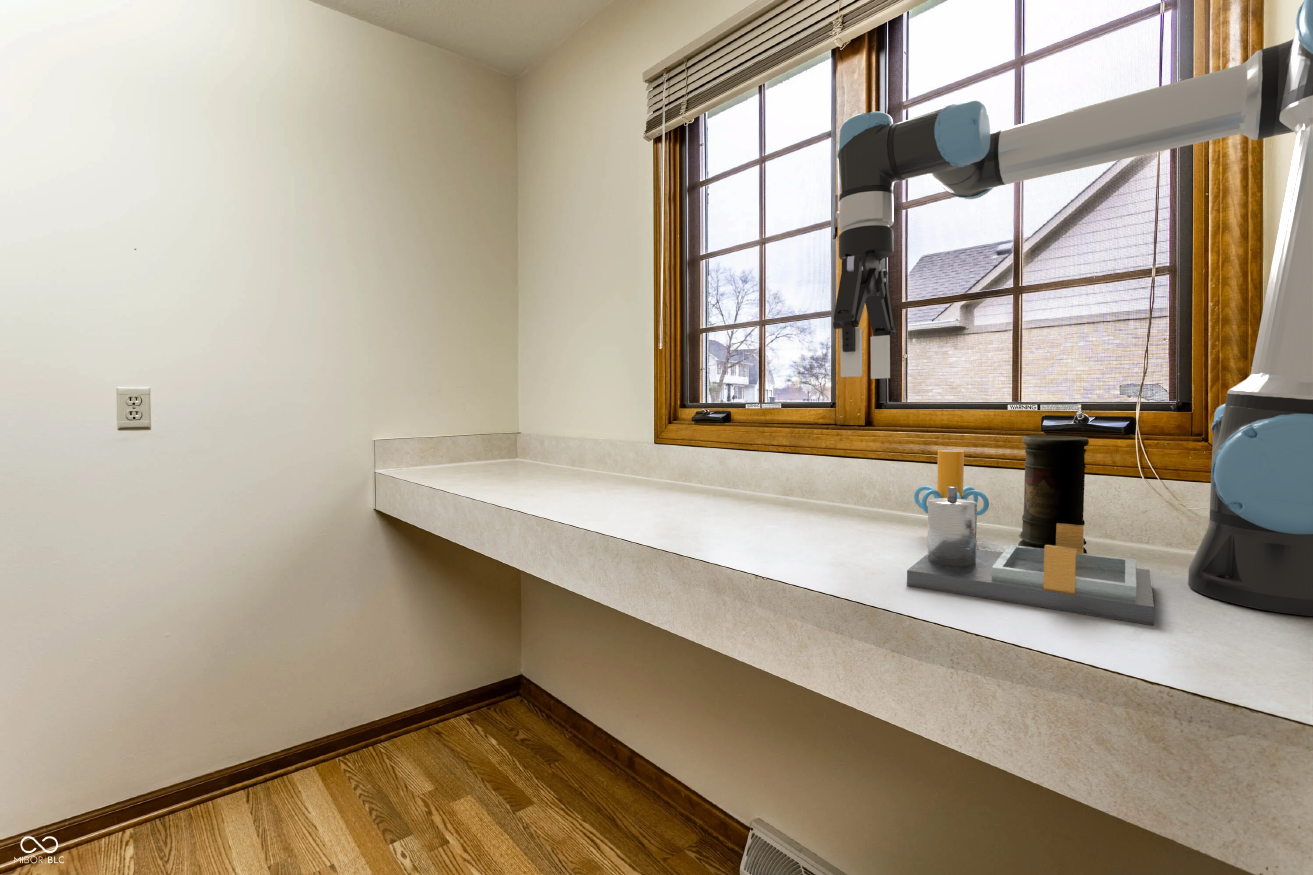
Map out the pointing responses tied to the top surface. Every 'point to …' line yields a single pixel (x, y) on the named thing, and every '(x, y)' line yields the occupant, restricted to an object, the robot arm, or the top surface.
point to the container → (1052, 487)
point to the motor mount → (1029, 569)
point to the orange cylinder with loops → (950, 481)
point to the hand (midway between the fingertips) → (866, 377)
